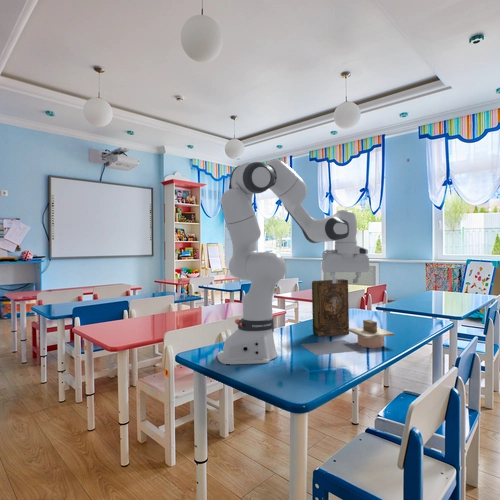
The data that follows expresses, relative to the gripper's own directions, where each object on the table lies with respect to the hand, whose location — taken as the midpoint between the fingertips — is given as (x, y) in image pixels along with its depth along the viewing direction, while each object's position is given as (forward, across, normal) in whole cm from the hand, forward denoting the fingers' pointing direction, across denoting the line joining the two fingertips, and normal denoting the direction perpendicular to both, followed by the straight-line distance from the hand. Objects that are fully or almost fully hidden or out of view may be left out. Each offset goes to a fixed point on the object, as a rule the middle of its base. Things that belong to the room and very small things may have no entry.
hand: (345, 283), depth 143 cm
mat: (+26, -8, -3) cm, 27 cm away
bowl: (+25, +9, -4) cm, 27 cm away
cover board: (+20, +9, -4) cm, 22 cm away
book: (+25, +2, +16) cm, 30 cm away
